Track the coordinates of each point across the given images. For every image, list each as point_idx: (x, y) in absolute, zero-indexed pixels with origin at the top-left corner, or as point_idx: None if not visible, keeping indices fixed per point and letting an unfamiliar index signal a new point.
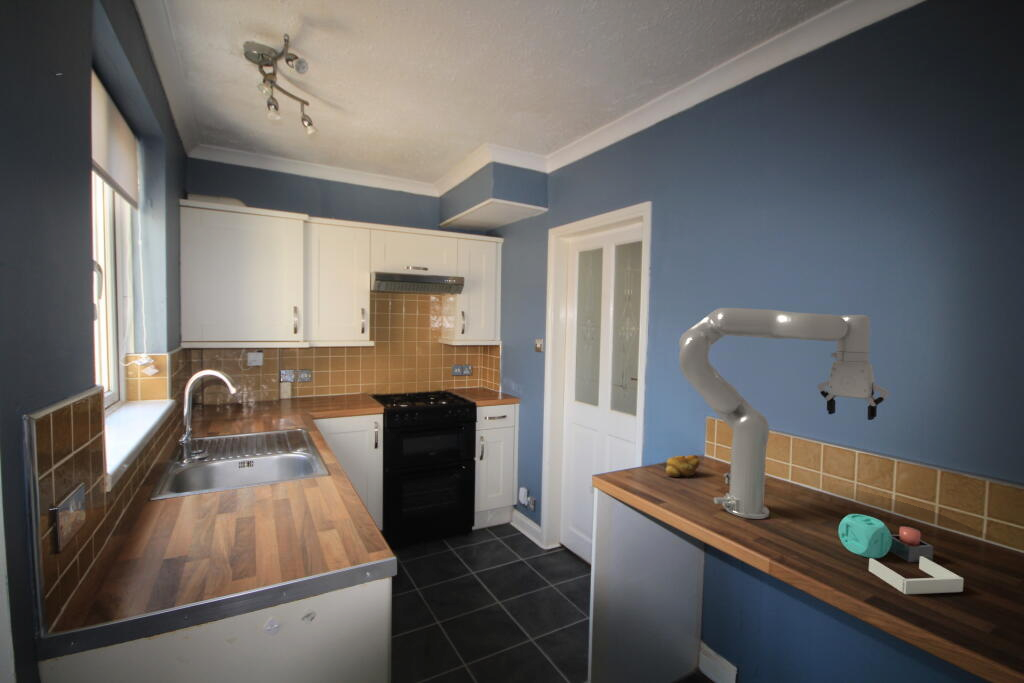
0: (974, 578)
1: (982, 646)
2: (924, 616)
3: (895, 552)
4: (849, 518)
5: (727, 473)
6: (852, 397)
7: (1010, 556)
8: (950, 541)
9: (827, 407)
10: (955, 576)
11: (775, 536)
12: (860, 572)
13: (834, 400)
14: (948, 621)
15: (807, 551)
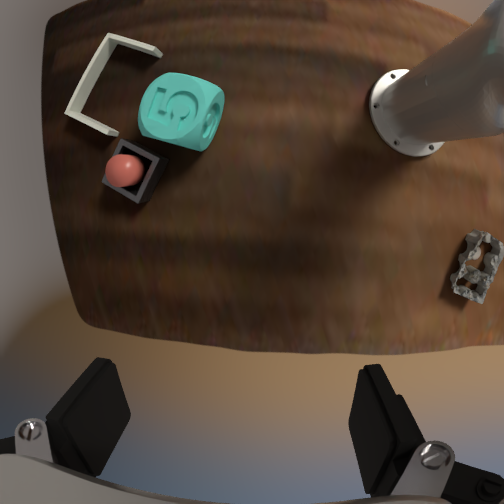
0: (74, 175)
1: (60, 23)
2: (97, 17)
3: (151, 150)
4: (196, 85)
5: (501, 257)
6: (132, 489)
7: (78, 303)
8: (128, 296)
9: (403, 406)
10: (71, 111)
11: (313, 40)
12: (169, 38)
13: (373, 494)
14: (80, 31)
15: (249, 31)
